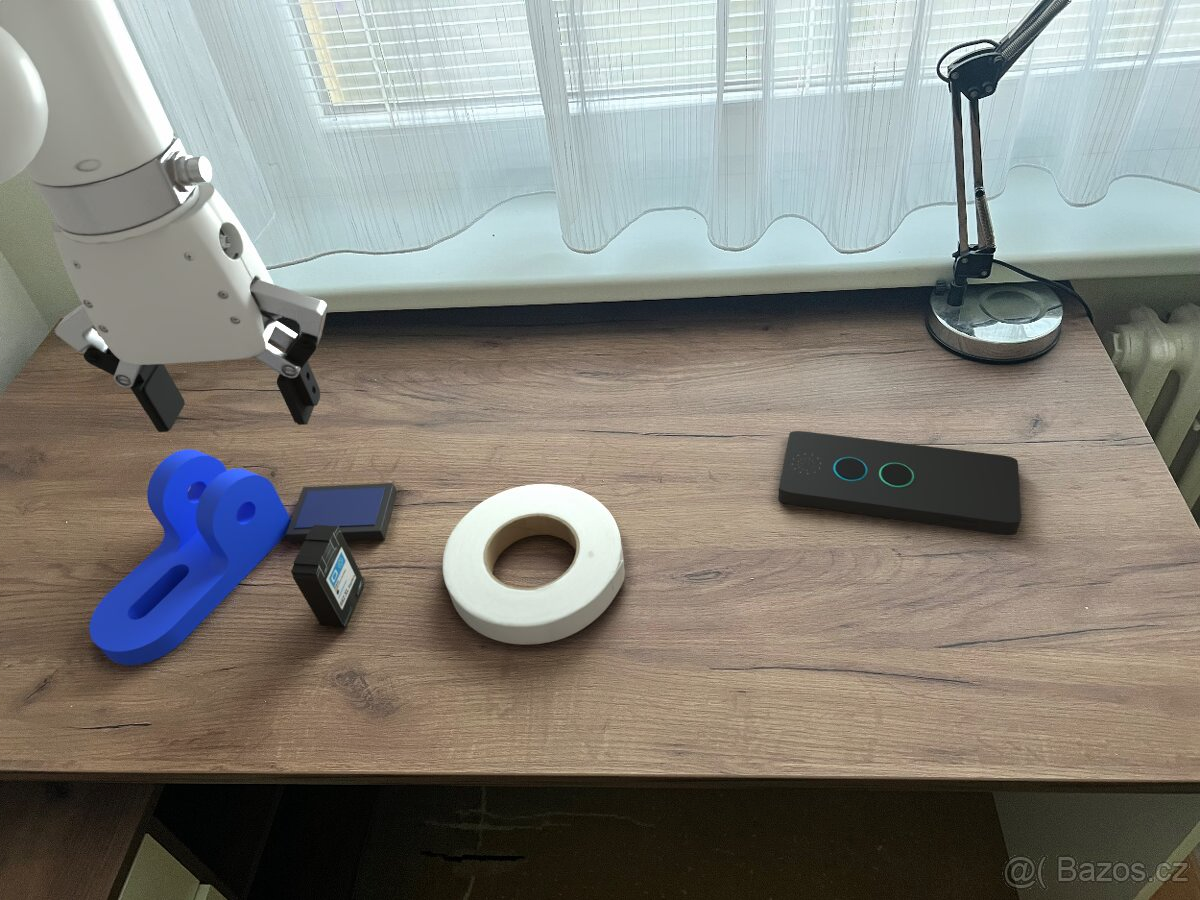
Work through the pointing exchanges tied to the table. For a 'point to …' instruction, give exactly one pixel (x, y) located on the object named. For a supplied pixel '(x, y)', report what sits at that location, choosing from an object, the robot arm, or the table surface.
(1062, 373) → the table surface
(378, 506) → the ink pad
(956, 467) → the smart home device
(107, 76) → the robot arm
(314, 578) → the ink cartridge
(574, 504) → the tape roll
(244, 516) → the bracket
